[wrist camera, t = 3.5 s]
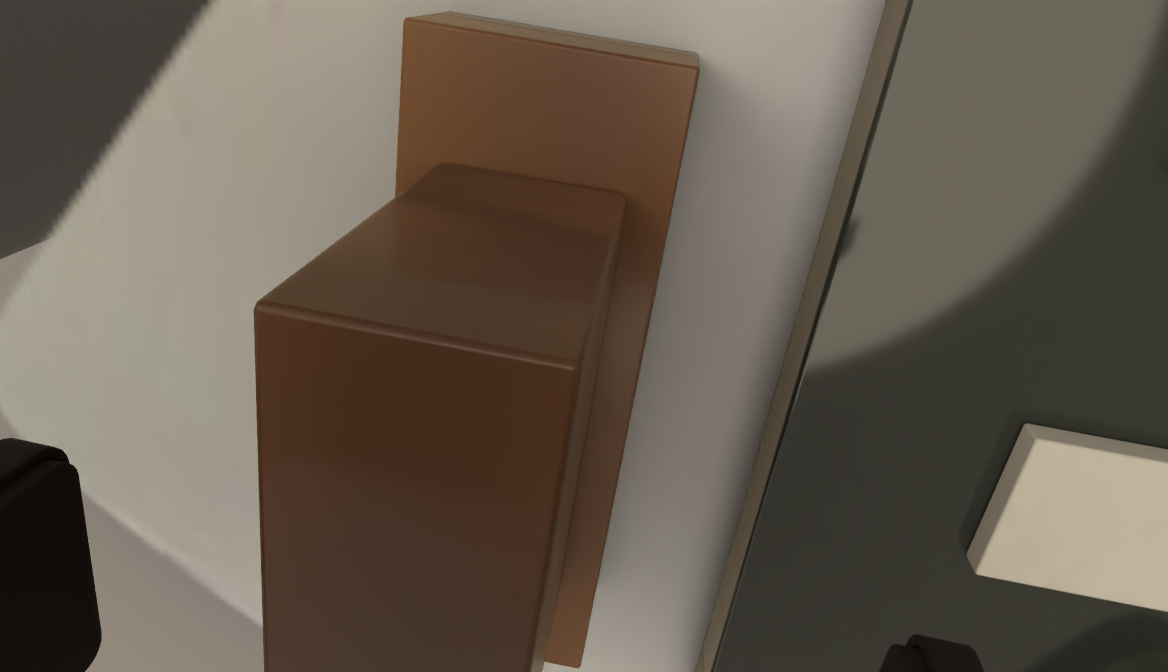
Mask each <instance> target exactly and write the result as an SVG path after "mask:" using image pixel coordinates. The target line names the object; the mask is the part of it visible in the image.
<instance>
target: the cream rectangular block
mask: <svg viewBox="0 0 1168 672" xmlns="http://www.w3.org/2000/svg"><path fill="white" fill-rule="evenodd" d="M967 557H968V560H969V562H970V564H971V566H972V568H973V570H974V572H975V573H976V574H977V575H981V576H986V577H991V578H996V579H1001V580H1007V581H1012V582H1017V583H1022V584H1027V585H1032V586H1037V587H1042V588H1048V589H1053V590H1058V591H1063V592H1068V593H1073V594H1078V595H1083V596H1089V597H1094V598H1099V599H1104V600H1109V601H1114V602H1119V603H1124V604H1130V605H1135V606H1140V607H1145V608H1150V609H1155V610H1160V611H1165V612H1168V449H1162V448H1157V447H1151V446H1146V445H1141V444H1135V443H1130V442H1125V441H1119V440H1114V439H1108V438H1103V437H1098V436H1092V435H1087V434H1082V433H1076V432H1071V431H1065V430H1060V429H1055V428H1049V427H1044V426H1038V425H1033V424H1028V423H1026V424H1024V425H1023V427H1022V430H1021V432H1020V434H1019V436H1018V439H1017V441H1016V443H1015V445H1014V448H1013V450H1012V452H1011V454H1010V457H1009V459H1008V461H1007V464H1006V466H1005V468H1004V470H1003V473H1002V475H1001V477H1000V479H999V482H998V484H997V486H996V488H995V491H994V493H993V495H992V497H991V500H990V502H989V504H988V506H987V509H986V511H985V513H984V515H983V518H982V520H981V522H980V524H979V527H978V529H977V531H976V533H975V536H974V538H973V540H972V542H971V545H970V547H969V549H968V551H967Z"/></svg>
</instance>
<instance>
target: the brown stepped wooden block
mask: <svg viewBox="0 0 1168 672" xmlns="http://www.w3.org/2000/svg"><path fill="white" fill-rule="evenodd" d="M699 73H700V69H699V61H698V54H697V53H695V52H689V51H683V50H677V49H671V48H665V47H659V46H653V45H647V44H641V43H635V42H629V41H623V40H617V39H611V38H605V37H599V36H593V35H587V34H581V33H576V32H570V31H564V30H558V29H552V28H546V27H540V26H534V25H528V24H522V23H516V22H510V21H504V20H498V19H492V18H486V17H480V16H474V15H468V14H462V13H456V12H450V11H449V12H443V13H436V14H429V15H422V16H416V17H409V18H405V20H404V28H403V48H402V68H401V89H400V109H399V129H398V149H397V170H396V190H395V198H394V199H392V200H391V201H390V202H388V203H387V204H386V205H384V206H383V207H382V208H380V209H379V210H378V211H377V212H375V213H374V214H373V215H371V216H370V217H369V218H367V219H366V220H365V221H363V222H362V223H361V224H359V225H358V226H357V227H355V228H354V229H353V230H351V231H350V232H349V233H347V234H346V235H345V236H343V237H342V238H341V239H339V240H338V241H337V242H335V243H334V244H333V245H331V246H330V247H329V248H328V249H326V250H325V251H324V252H322V253H321V254H320V255H318V256H317V257H316V258H314V259H313V260H312V261H310V262H309V263H308V264H306V265H305V266H304V267H302V268H301V269H300V270H298V271H297V272H296V273H294V274H293V275H292V276H290V277H289V278H288V279H286V280H285V281H284V282H283V283H281V284H280V285H279V286H277V287H276V288H275V289H273V290H272V291H271V292H269V293H268V294H267V295H265V296H264V297H263V298H261V299H260V300H259V301H257V303H256V305H255V308H254V334H255V368H256V403H257V437H258V472H259V507H260V541H261V576H262V611H263V644H264V672H542V671H543V666H544V662H549V663H554V664H559V665H564V666H569V667H573V668H579V667H580V666H581V662H582V657H583V652H584V647H585V642H586V637H587V632H588V627H589V622H590V617H591V612H592V607H593V602H594V597H595V592H596V587H597V582H598V577H599V572H600V567H601V562H602V557H603V552H604V547H605V542H606V537H607V532H608V527H609V522H610V517H611V512H612V507H613V502H614V497H615V492H616V487H617V482H618V477H619V472H620V467H621V462H622V457H623V452H624V447H625V442H626V437H627V432H628V427H629V422H630V417H631V412H632V407H633V402H634V397H635V392H636V387H637V382H638V377H639V372H640V367H641V362H642V357H643V352H644V347H645V342H646V337H647V332H648V327H649V322H650V317H651V312H652V307H653V302H654V297H655V292H656V287H657V282H658V277H659V272H660V267H661V262H662V257H663V252H664V247H665V242H666V237H667V232H668V227H669V223H670V218H671V213H672V208H673V203H674V198H675V193H676V188H677V183H678V178H679V173H680V168H681V163H682V158H683V153H684V148H685V143H686V138H687V133H688V128H689V123H690V118H691V113H692V108H693V103H694V98H695V93H696V88H697V83H698V78H699Z"/></svg>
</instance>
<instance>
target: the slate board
mask: <svg viewBox="0 0 1168 672" xmlns="http://www.w3.org/2000/svg"><path fill="white" fill-rule="evenodd" d="M1026 423H1028V424H1033V425H1038V426H1044V427H1049V428H1055V429H1060V430H1065V431H1071V432H1076V433H1082V434H1087V435H1092V436H1098V437H1103V438H1108V439H1114V440H1119V441H1125V442H1130V443H1135V444H1141V445H1146V446H1151V447H1157V448H1162V449H1168V0H887V1H886V5H885V8H884V12H883V15H882V19H881V23H880V26H879V30H878V33H877V37H876V40H875V44H874V47H873V51H872V54H871V58H870V61H869V65H868V68H867V72H866V75H865V79H864V82H863V86H862V89H861V93H860V96H859V100H858V103H857V107H856V110H855V114H854V117H853V121H852V124H851V128H850V131H849V135H848V138H847V142H846V145H845V149H844V153H843V156H842V160H841V163H840V167H839V170H838V174H837V177H836V181H835V184H834V188H833V191H832V195H831V198H830V202H829V205H828V209H827V212H826V216H825V219H824V223H823V226H822V230H821V233H820V237H819V240H818V244H817V247H816V251H815V254H814V258H813V261H812V265H811V268H810V272H809V276H808V279H807V283H806V286H805V290H804V293H803V297H802V300H801V304H800V307H799V311H798V314H797V318H796V321H795V325H794V328H793V332H792V335H791V339H790V342H789V346H788V349H787V353H786V356H785V360H784V363H783V367H782V370H781V374H780V377H779V381H778V384H777V388H776V391H775V395H774V398H773V402H772V406H771V409H770V413H769V416H768V420H767V423H766V427H765V430H764V434H763V437H762V441H761V444H760V448H759V451H758V455H757V458H756V462H755V465H754V469H753V472H752V476H751V479H750V483H749V486H748V490H747V493H746V497H745V500H744V504H743V507H742V511H741V514H740V518H739V521H738V525H737V528H736V532H735V536H734V539H733V543H732V546H731V550H730V553H729V557H728V560H727V564H726V567H725V571H724V574H723V578H722V581H721V585H720V588H719V592H718V595H717V599H716V602H715V606H714V609H713V613H712V616H711V620H710V623H709V627H708V630H707V634H706V637H705V641H704V643H703V647H702V650H701V654H700V657H699V661H698V664H697V668H696V671H695V672H879V671H880V668H881V666H882V664H883V661H884V659H885V656H886V654H887V652H888V650H889V648H890V647H891V646H892V645H893V644H899V645H903V646H905V645H906V643H907V641H908V639H909V638H910V637H911V636H913V635H914V634H917V635H923V636H928V637H932V638H937V639H942V640H946V641H951V642H956V643H960V644H965V645H969V646H970V647H972V648H973V649H974V650H975V652H976V654H977V656H978V657H979V660H980V662H981V665H982V667H983V670H984V672H1168V612H1165V611H1160V610H1155V609H1150V608H1145V607H1140V606H1135V605H1130V604H1124V603H1119V602H1114V601H1109V600H1104V599H1099V598H1094V597H1089V596H1083V595H1078V594H1073V593H1068V592H1063V591H1058V590H1053V589H1048V588H1042V587H1037V586H1032V585H1027V584H1022V583H1017V582H1012V581H1007V580H1001V579H996V578H991V577H986V576H981V575H977V574H976V573H975V572H974V570H973V568H972V566H971V564H970V562H969V560H968V557H967V551H968V549H969V547H970V545H971V542H972V540H973V538H974V536H975V533H976V531H977V529H978V527H979V524H980V522H981V520H982V518H983V515H984V513H985V511H986V509H987V506H988V504H989V502H990V500H991V497H992V495H993V493H994V491H995V488H996V486H997V484H998V482H999V479H1000V477H1001V475H1002V473H1003V470H1004V468H1005V466H1006V464H1007V461H1008V459H1009V457H1010V454H1011V452H1012V450H1013V448H1014V445H1015V443H1016V441H1017V439H1018V436H1019V434H1020V432H1021V430H1022V427H1023V425H1024V424H1026Z"/></svg>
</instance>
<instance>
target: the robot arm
mask: <svg viewBox="0 0 1168 672" xmlns="http://www.w3.org/2000/svg"><path fill="white" fill-rule="evenodd" d="M100 643H101V626H100V620H99V612H98V606H97V599H96V592H95V585H94V578H93V571H92V564H91V557H90V550H89V543H88V536H87V531H86V523H85V516H84V509H83V502H82V495H81V488H80V481H79V475H78V472H77V469H76V468H75V467H74V466H73V465H71V464H70V463H69V460H68V457H67V455H66V454H65V453H64V452H63V450H61V449H58V448H55V447H51V446H47V445H42V444H37V443H33V442H28V441H24V440H19V439H14V438H8V439H2V440H0V672H85V671H86V670H87V669H88V667H89V666H90V664H91V663H92V662H93V660H94V658H95V656H96V655H97V652H98V650H99V647H100ZM879 672H984V670H983V667H982V665H981V662H980V660H979V657H978V656H977V654H976V652H975V650H974V649H973V648H972V647H970V646H969V645H965V644H960V643H956V642H951V641H946V640H942V639H937V638H932V637H928V636H923V635H917V634H914V635H913V636H911V637H910V638H909V639H908V641H907V643H906V645H905V646H903V645H899V644H893V645H892V646H891V647H890V648H889V650H888V652H887V654H886V656H885V659H884V661H883V664H882V666H881V668H880V671H879Z"/></svg>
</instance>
